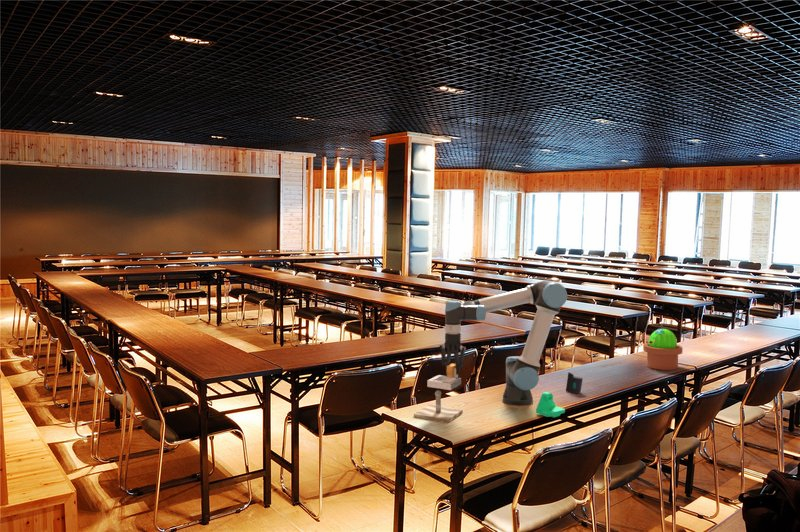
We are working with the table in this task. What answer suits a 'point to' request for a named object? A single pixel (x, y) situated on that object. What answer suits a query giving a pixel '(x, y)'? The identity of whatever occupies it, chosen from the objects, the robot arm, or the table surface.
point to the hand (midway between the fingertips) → (452, 380)
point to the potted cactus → (662, 350)
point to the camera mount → (548, 406)
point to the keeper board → (438, 416)
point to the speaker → (574, 383)
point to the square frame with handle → (445, 380)
